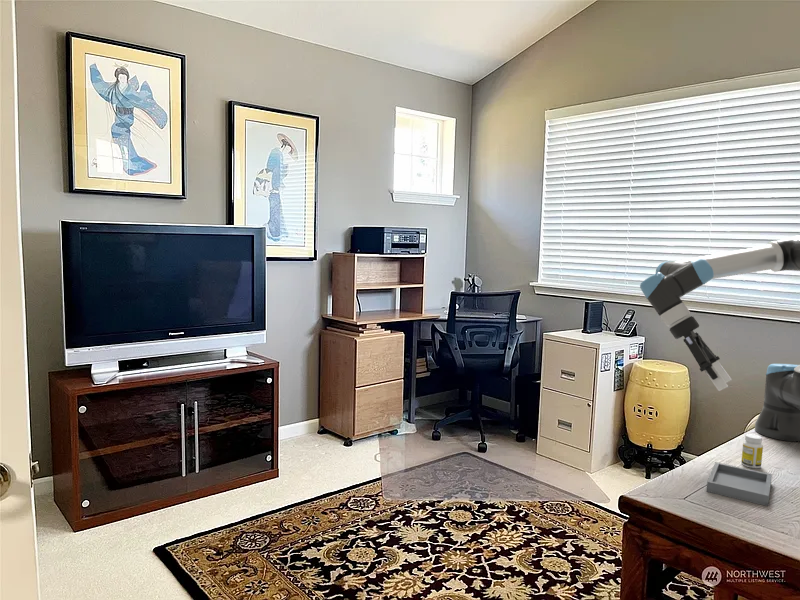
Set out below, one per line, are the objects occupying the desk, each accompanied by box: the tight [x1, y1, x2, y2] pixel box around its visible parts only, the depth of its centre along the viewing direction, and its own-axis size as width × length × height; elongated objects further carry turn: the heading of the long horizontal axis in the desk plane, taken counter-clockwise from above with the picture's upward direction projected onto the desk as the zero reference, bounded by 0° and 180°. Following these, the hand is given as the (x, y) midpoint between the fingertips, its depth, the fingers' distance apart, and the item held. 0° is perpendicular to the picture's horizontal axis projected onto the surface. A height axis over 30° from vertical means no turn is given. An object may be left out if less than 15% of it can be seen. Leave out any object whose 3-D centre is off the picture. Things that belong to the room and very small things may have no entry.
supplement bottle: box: [740, 433, 764, 469], centre depth 165 cm, size 5×5×8 cm
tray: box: [706, 461, 773, 507], centre depth 150 cm, size 16×13×2 cm
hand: (725, 385), depth 167 cm, fingers open, 13 cm apart
